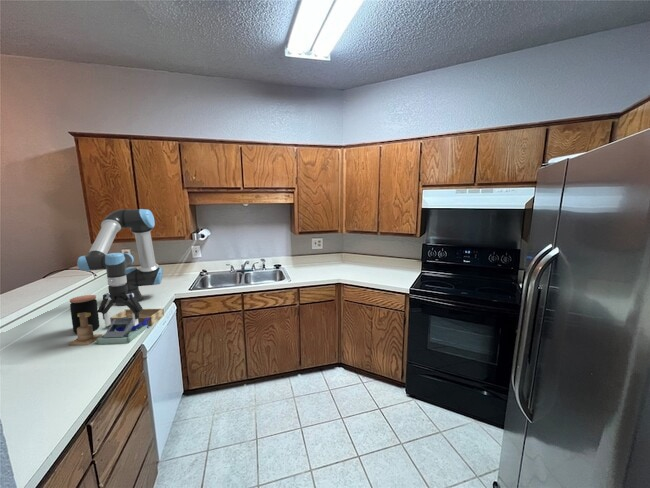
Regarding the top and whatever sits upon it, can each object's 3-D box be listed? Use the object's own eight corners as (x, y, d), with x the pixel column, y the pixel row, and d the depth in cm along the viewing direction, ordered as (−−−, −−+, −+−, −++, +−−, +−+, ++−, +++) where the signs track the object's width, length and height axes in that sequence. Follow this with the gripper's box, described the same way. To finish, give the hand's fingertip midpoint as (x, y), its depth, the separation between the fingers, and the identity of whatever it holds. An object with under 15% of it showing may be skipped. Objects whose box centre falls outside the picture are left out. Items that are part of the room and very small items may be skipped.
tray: (119, 329, 147) (119, 325, 147) (148, 328, 148) (148, 324, 148) (96, 344, 131) (96, 339, 131) (128, 343, 132) (128, 338, 132)
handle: (84, 336, 139) (81, 310, 137) (102, 336, 140) (99, 309, 138) (68, 345, 130) (65, 317, 129) (88, 344, 131) (84, 316, 129)
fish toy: (113, 335, 137) (113, 321, 138) (117, 332, 144) (116, 319, 144) (149, 329, 144) (148, 316, 144) (150, 326, 151) (150, 314, 151)
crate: (126, 319, 161) (125, 309, 160) (164, 318, 162) (163, 308, 161) (110, 328, 148) (109, 318, 147) (151, 327, 149) (150, 317, 148)
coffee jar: (97, 324, 154) (93, 293, 152) (102, 329, 147) (98, 297, 145) (71, 331, 146) (67, 298, 143) (75, 336, 139) (71, 302, 137)
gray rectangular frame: (106, 340, 134) (103, 337, 132) (118, 319, 142) (115, 316, 140) (125, 339, 134) (122, 336, 132) (136, 319, 143) (133, 315, 141)
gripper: (85, 286, 131) (90, 328, 134) (139, 286, 132) (143, 327, 135) (97, 282, 139) (102, 322, 142) (148, 281, 140) (151, 321, 143)
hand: (122, 325), depth 138 cm, fingers open, 13 cm apart
